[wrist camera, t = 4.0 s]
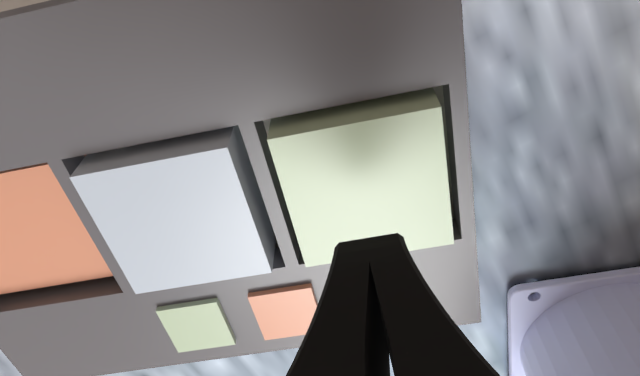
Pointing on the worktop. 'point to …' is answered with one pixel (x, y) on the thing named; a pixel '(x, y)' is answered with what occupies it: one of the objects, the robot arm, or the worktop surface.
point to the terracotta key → (42, 234)
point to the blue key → (179, 210)
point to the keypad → (204, 115)
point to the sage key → (365, 173)
